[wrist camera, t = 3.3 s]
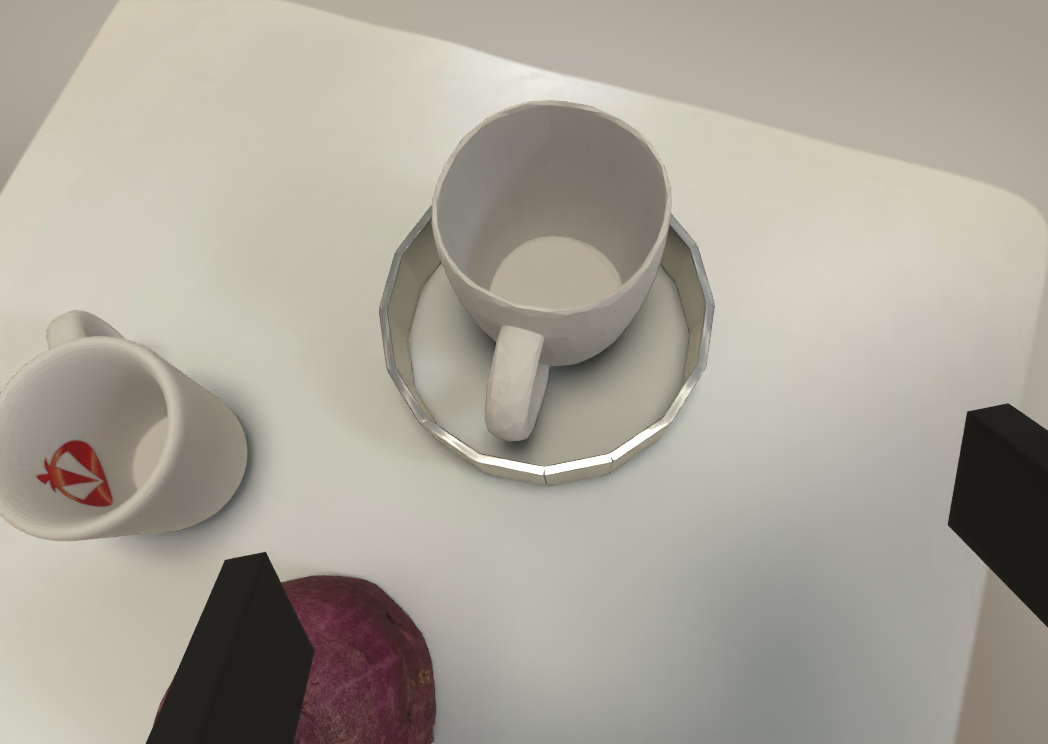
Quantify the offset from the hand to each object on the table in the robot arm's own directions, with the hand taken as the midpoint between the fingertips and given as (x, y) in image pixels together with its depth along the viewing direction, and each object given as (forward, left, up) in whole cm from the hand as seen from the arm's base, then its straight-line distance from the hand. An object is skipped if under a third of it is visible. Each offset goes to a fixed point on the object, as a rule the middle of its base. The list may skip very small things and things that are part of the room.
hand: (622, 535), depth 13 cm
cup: (+19, -9, -19) cm, 28 cm away
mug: (0, -11, -19) cm, 22 cm away
